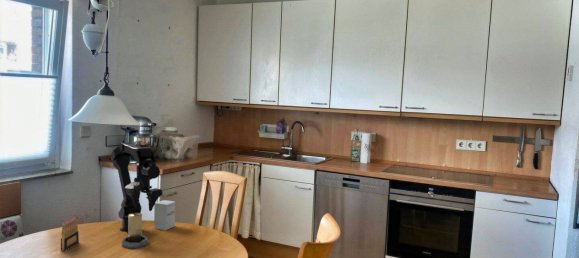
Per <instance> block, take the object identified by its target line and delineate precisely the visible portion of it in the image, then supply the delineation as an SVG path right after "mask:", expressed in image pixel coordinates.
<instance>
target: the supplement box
mask: <svg viewBox="0 0 579 258" xmlns="http://www.w3.org/2000/svg"><path fill="white" fill-rule="evenodd" d="M153 209H154V210H153V211H154V213H153V215H154V216H153V217H154V218H153V219H154V220H153V221H154V222H153V224H154V225H153V228H154V229H157V230H162V231H167V230H169V229H171V228H174V227H176V201H173V200H165V199H163V200H160V201H156V203H155V205H154V207H153Z"/></svg>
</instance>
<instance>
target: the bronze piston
mask: <svg viewBox="0 0 579 258" xmlns="http://www.w3.org/2000/svg"><path fill="white" fill-rule="evenodd" d="M142 217H143V214H142V213H131V214H129V215H128V232H127V233H128V234H127V237H128V242H130V243H131V242H140V241H142V236H143V234H142V233H143V228H142V227H143V218H142Z"/></svg>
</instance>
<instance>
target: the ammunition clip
mask: <svg viewBox="0 0 579 258" xmlns="http://www.w3.org/2000/svg"><path fill="white" fill-rule="evenodd" d="M61 224H62V226H61V238H60V251H61V250H66V249H67V250H69V249H71V248H72V247H74V246H75V245H77V244H78V243H79V241H80V240H79V239H80V238H79V236H80V235H79V230H78V229H79V227H78V219H77V216H76V215H75V216H72V217H70V218H69V219H67V220H65V221H63V222H62V223H61ZM73 245H74V246H73ZM71 246H72V247H71ZM70 247H71V248H70ZM68 248H69V249H68ZM67 250H66V251H67Z"/></svg>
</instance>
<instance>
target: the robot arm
mask: <svg viewBox="0 0 579 258" xmlns="http://www.w3.org/2000/svg"><path fill="white" fill-rule="evenodd" d="M131 157H133V159H134V160H135V162H134V164H135V165H136V177H134V179H133V182H132V180H131V179H132V178H131V175H130V169H129V164H130V162H131ZM110 160H111V162H112V165H113V167H114V168H115V169H116V170H117V173H118V178H119V182H120V187H121V191H122V192H121V193H122V198H123V199H122V201H121V203H120V207H121V208H120V209H119V211H118V213H117V214H118V218H120V219H122V220H121V221H122V224H121V225H122V227H120V228H119V231H122V232H127V233H128V215H129V214H131V213H141V212H142V205H141V203H140V196H141V194H146V196H145V197H146V199H147V200H148V211H149V212H152V210H153V209H154V205H155V203H157V202H158V199H159V198H160V197H161V196H163V190H162V189H161V188H156V187H155V188H153V186H152V185H151V180H153V179H157V178H158V177H159V176H160V174H161V170H160V168H159V166H157V161H156V160H157V158H156V156H155V153H154V151H153V149H152V147H150V146H149V147H148V146H144V147H143V146H138V145H136V144H133V143H132V142H121V143H119V145H118V146H117V147H115V148H114V149H113V150H112V152H111V154H110ZM141 214H142V213H141Z"/></svg>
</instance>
